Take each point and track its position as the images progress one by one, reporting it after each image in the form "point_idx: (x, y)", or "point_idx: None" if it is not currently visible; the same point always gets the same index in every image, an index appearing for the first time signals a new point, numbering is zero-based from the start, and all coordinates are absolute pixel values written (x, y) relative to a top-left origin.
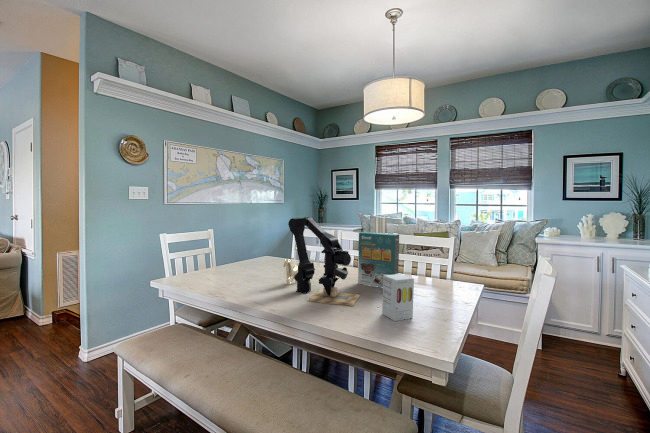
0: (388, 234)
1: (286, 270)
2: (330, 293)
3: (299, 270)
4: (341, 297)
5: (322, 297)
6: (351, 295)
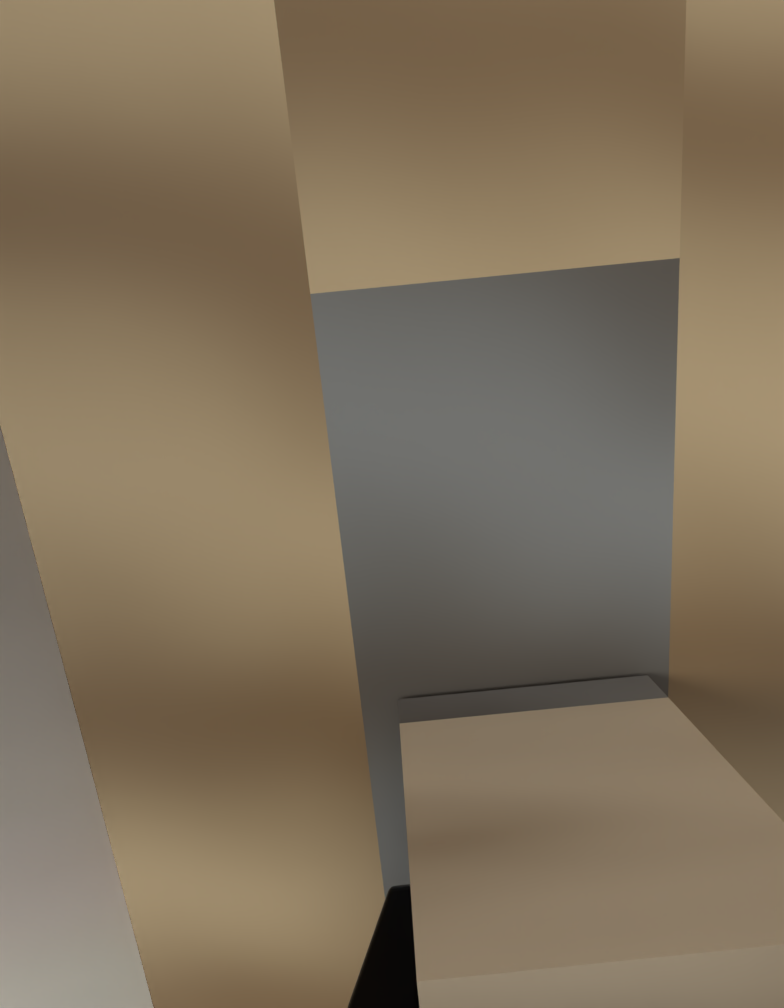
0: None
1: None
2: None
3: None
4: (523, 518)
5: None
6: (150, 267)
